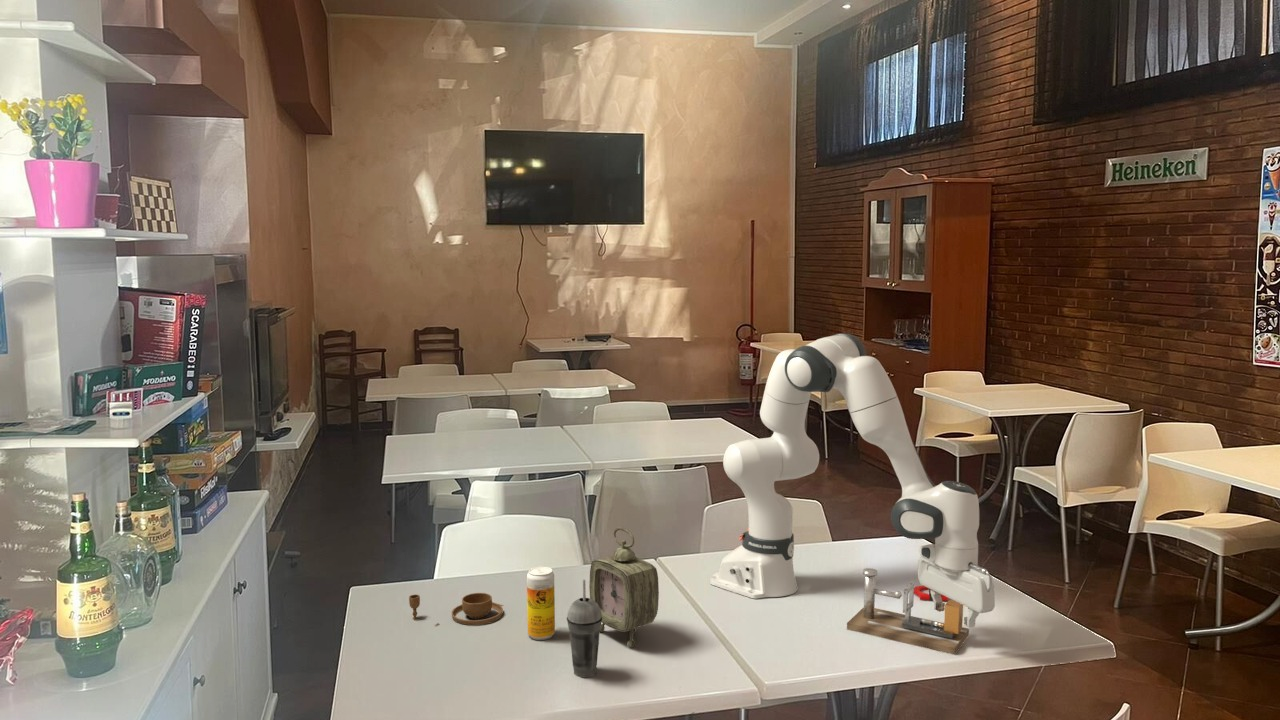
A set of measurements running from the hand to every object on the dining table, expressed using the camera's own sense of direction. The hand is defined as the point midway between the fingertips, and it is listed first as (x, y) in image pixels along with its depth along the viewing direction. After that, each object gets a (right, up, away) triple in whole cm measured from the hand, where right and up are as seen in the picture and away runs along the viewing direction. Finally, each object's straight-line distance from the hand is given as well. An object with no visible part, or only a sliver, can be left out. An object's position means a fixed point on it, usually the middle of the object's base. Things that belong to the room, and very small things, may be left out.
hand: (954, 617), depth 197 cm
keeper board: (-8, -5, +7) cm, 12 cm away
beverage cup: (-80, -8, -13) cm, 81 cm away
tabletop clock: (-72, -6, +5) cm, 72 cm away
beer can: (-91, -6, +5) cm, 91 cm away
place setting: (-111, -5, +18) cm, 113 cm away
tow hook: (+4, -3, +29) cm, 30 cm away
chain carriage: (-4, -4, +3) cm, 6 cm away
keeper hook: (-13, -3, +10) cm, 17 cm away
